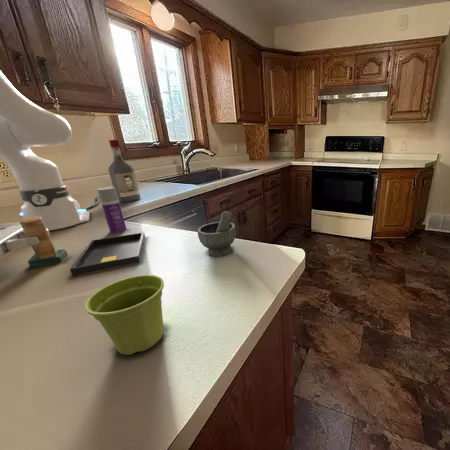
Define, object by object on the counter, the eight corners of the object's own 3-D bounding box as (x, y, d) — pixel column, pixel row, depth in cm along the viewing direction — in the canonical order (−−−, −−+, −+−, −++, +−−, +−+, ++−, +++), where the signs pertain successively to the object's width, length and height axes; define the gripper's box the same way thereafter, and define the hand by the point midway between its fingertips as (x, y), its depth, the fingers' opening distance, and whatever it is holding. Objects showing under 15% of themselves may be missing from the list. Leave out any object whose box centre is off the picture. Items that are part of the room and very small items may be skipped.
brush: (38, 259, 63) (17, 217, 58) (68, 255, 66) (50, 214, 60) (31, 268, 60) (8, 224, 55) (62, 263, 63) (43, 221, 57)
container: (118, 234, 81) (105, 190, 76) (106, 234, 82) (93, 189, 77) (130, 229, 85) (118, 187, 80) (119, 229, 86) (106, 186, 81)
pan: (93, 246, 72) (91, 240, 71) (145, 238, 78) (144, 231, 77) (72, 277, 56) (69, 269, 55) (140, 263, 61) (138, 255, 61)
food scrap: (104, 262, 61) (102, 257, 61) (118, 259, 63) (117, 255, 62) (101, 267, 59) (99, 262, 58) (116, 264, 60) (115, 260, 60)
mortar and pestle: (194, 253, 66) (186, 210, 62) (222, 241, 74) (217, 202, 70) (220, 263, 60) (213, 217, 56) (248, 250, 67) (244, 208, 63)
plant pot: (88, 354, 35) (67, 304, 32) (147, 313, 44) (135, 270, 41) (133, 374, 32) (115, 321, 29) (187, 325, 40) (177, 280, 37)
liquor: (115, 200, 128) (98, 140, 118) (134, 197, 135) (119, 140, 125) (123, 202, 123) (106, 140, 113) (142, 199, 130) (128, 139, 120)
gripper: (-89, 253, 44) (16, 238, 50) (-18, 222, 62) (54, 213, 68) (-70, 283, 47) (28, 265, 52) (-7, 245, 64) (62, 234, 70)
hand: (43, 236), depth 60 cm, fingers closed on brush, 4 cm apart
